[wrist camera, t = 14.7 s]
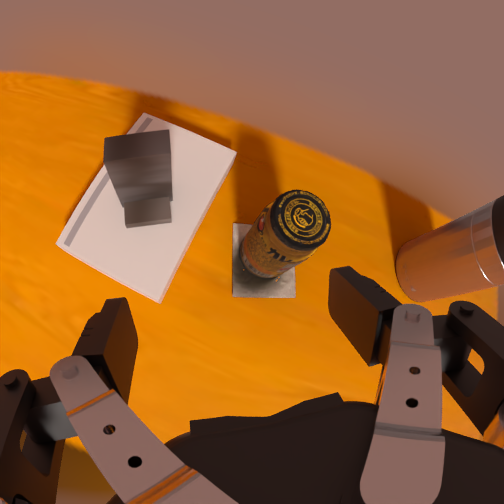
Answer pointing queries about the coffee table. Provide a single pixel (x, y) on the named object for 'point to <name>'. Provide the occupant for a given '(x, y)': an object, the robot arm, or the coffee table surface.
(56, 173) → the coffee table surface
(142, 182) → the dark block with lip
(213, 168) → the board
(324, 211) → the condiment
